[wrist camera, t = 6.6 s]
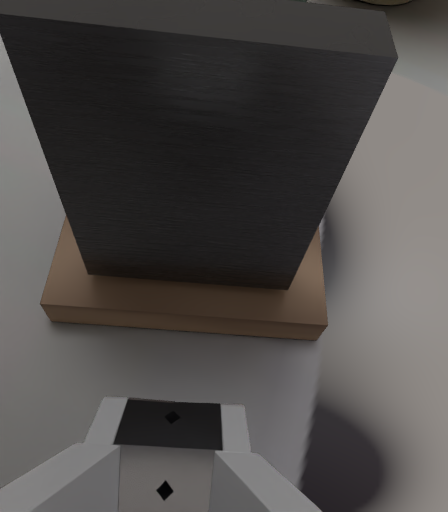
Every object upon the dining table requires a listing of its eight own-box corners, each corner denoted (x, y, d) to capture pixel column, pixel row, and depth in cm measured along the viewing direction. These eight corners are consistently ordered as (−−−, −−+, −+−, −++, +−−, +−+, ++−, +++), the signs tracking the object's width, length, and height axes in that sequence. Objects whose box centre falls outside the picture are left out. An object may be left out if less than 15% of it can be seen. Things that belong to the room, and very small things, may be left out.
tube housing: (316, 340, 16) (423, 199, 9) (50, 321, 16) (-54, 155, 9) (291, 12, 29) (329, -159, 21) (140, -6, 28) (127, -187, 21)
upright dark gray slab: (288, 290, 15) (398, 58, 8) (87, 274, 15) (-8, 12, 7) (278, 59, 22) (329, -180, 15) (143, 45, 22) (124, -208, 14)
